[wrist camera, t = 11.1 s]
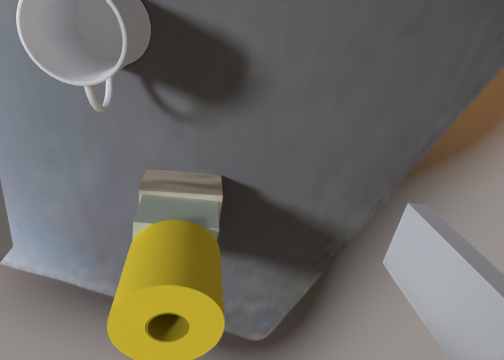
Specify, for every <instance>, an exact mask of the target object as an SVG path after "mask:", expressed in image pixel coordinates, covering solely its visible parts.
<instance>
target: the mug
mask: <svg viewBox="0 0 504 360" xmlns="http://www.w3.org/2000/svg"><path fill="white" fill-rule="evenodd" d="M16 23H17V29H18V33H19V37H20V39H21V42H22V44H23V46H24V48H25V50H26V51H27V53H28V55H29V56H30V57H31V59H32V60H33V61H34V62H35V63H36V64H37V65H38V66H39V67H40V68H41V69H42V70H43V71H45V72H46V73H47V74H49V75H50V76H52V77H54V78H56V79H58V80H60V81H62V82H65V83H68V84H72V85H79V86H84V88H85V91H86V94H87V97H88V99H89V101H90V103H91V105H92V107H93V108H94V109H95V110H97V111H99V112H105V111H107V110H109V108H110V107H111V104H112V101H113V95H114V74H116V73H117V72H118V71H119V70H121V69H122V68H123V67H124V66H126V65H128V64H130V63H133V62H134V61H136V60H137V59H139V58H140V57H141V56H142V55H143V53H144V52H145V50H146V49H147V47H148V44H149V41H150V36H151V25H150V19H149V16H148V13H147V11H146V9H145V7H144V5H143V3H142V2H141V0H19V3H18V6H17V13H16ZM104 81H106V93H105V99H104V103H103V105H101V103H100V101H99V99H98V96H97V93H96V89H95V84H98V83H101V82H104Z"/></svg>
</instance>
